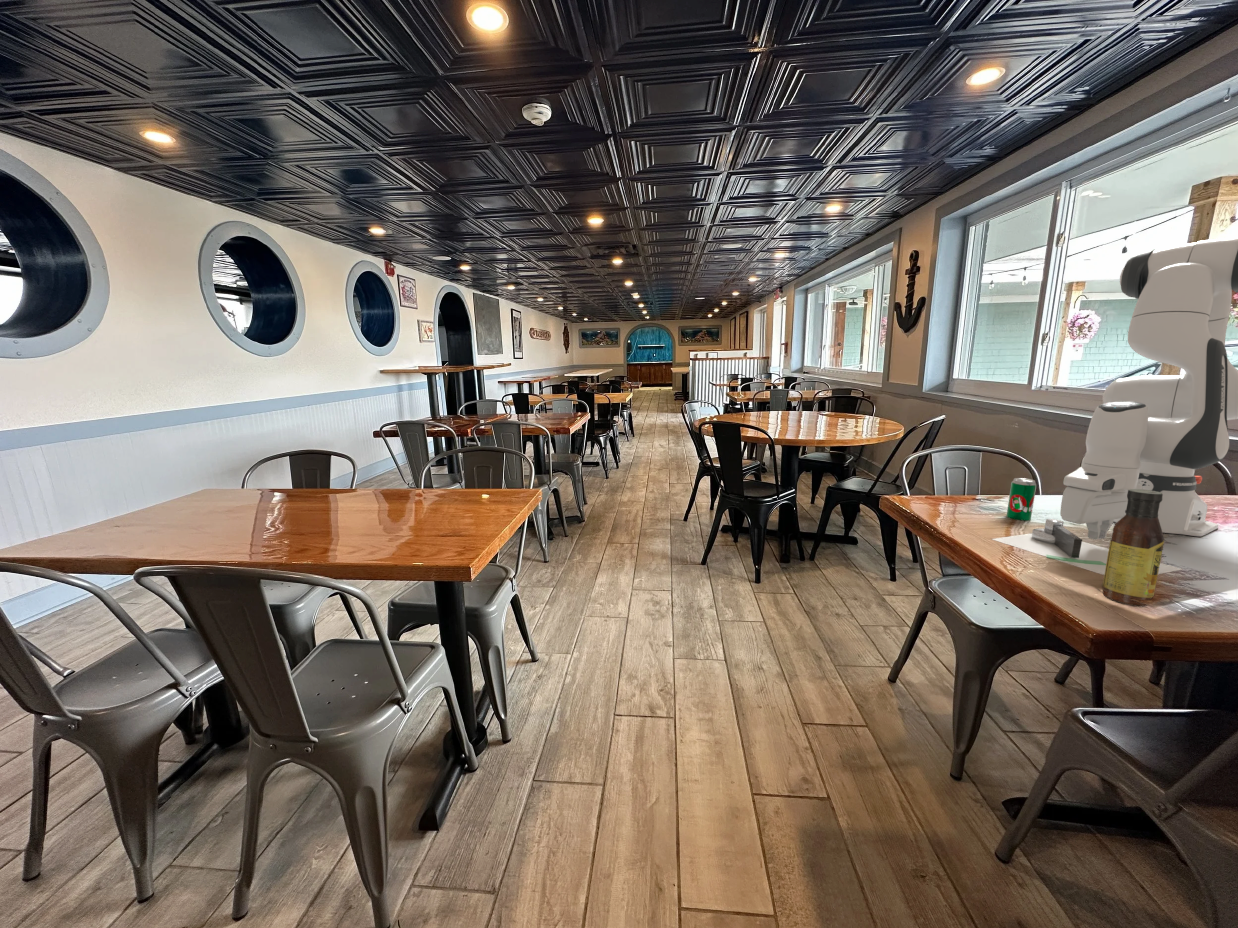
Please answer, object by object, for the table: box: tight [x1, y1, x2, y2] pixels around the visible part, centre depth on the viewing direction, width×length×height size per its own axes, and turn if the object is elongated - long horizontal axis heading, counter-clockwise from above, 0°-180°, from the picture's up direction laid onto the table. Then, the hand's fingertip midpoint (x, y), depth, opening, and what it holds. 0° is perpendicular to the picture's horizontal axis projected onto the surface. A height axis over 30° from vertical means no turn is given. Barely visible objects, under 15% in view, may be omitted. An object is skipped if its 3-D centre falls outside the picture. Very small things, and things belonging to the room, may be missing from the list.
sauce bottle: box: [1102, 489, 1165, 607], centre depth 82 cm, size 6×6×20 cm
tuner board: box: [991, 532, 1184, 576], centre depth 102 cm, size 19×24×2 cm
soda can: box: [1005, 477, 1037, 522], centre depth 126 cm, size 5×5×12 cm
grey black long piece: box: [1031, 518, 1083, 558], centre depth 105 cm, size 16×7×4 cm, turn 156°
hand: (1096, 538), depth 104 cm, fingers closed
